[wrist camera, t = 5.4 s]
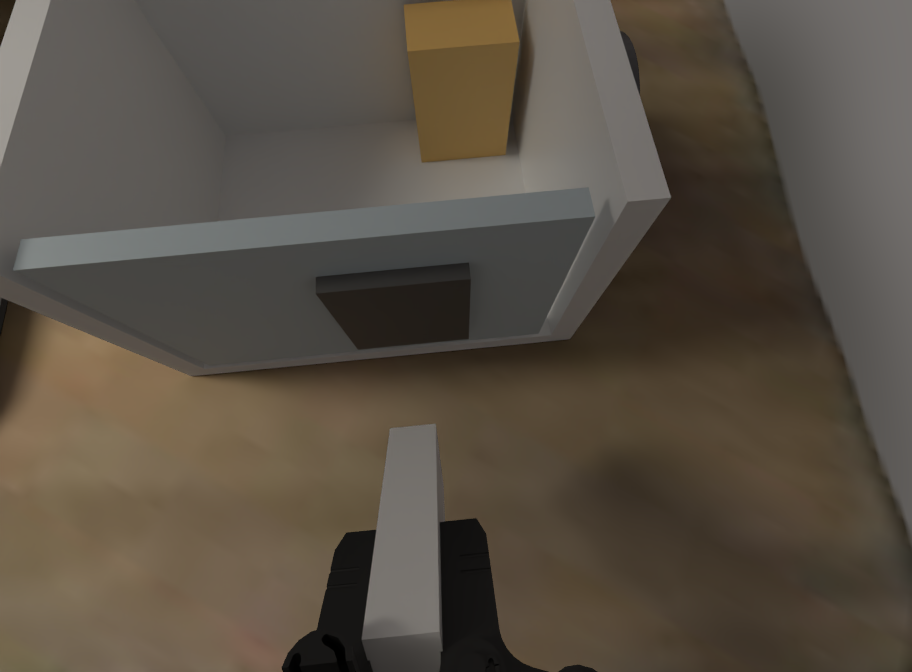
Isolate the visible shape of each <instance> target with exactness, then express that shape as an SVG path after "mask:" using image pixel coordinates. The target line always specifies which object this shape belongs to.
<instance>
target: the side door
mask: <svg viewBox="0 0 912 672" xmlns="http://www.w3.org/2000/svg"><path fill="white" fill-rule="evenodd" d="M594 218H595V212H594V208H593V204H592V199H591V195H590V191H589V187H587V188H576V189H565V190H554V191H543V192H532V193H521V194H510V195H499V196H489V197H478V198H467V199H456V200H445V201H434V202H423V203H412V204H401V205H390V206H379V207H369V208H358V209H347V210H336V211H325V212H314V213H303V214H292V215H281V216H270V217H259V218H248V219H238V220H227V221H216V222H205V223H194V224H183V225H172V226H161V227H150V228H139V229H128V230H118V231H107V232H96V233H85V234H74V235H63V236H52V237H41V238H30V239H21V241H20V245H19V249H18V252H17V256H16V260H15V264H14V268H13V271H15V272H17V273H19V274H21V275H23V276H25V277H27V278H29V279H31V280H33V281H36V282H38V283H40V284H42V285H44V286H46V287H48V288H50V289H52V290H54V291H56V292H58V293H60V294H62V295H64V296H67V297H69V298H71V299H73V300H75V301H77V302H79V303H81V304H83V305H85V306H87V307H89V308H91V309H93V310H95V311H98V312H100V313H102V314H104V315H106V316H108V317H110V318H112V319H114V320H116V321H118V322H120V323H122V324H124V325H126V326H129V327H131V328H133V329H135V330H137V331H139V332H141V333H143V334H145V335H147V336H149V337H151V338H153V339H155V340H157V341H160V342H162V343H164V344H166V345H168V346H170V347H172V348H174V349H176V350H178V351H180V352H182V353H184V354H186V355H188V356H191V357H193V358H195V359H197V360H199V361H201V362H203V363H205V364H207V365H209V366H210V365H220V364H231V363H241V362H251V361H262V360H272V359H282V358H293V357H303V356H313V355H324V354H334V353H344V352H354V351H365V350H375V349H385V348H396V347H406V346H416V345H427V344H437V343H447V342H457V341H468V340H478V339H488V338H499V337H509V336H519V335H530V334H539V332H540V330H541V328H542V326H543V324H544V322H545V319H546V317H547V315H548V313H549V311H550V309H551V307H552V305H553V303H554V301H555V299H556V297H557V295H558V293H559V291H560V289H561V286H562V284H563V282H564V280H565V278H566V276H567V274H568V272H569V270H570V268H571V266H572V264H573V262H574V260H575V258H576V256H577V254H578V251H579V249H580V247H581V245H582V243H583V241H584V239H585V237H586V235H587V233H588V231H589V229H590V227H591V225H592V223H593V221H594Z"/></svg>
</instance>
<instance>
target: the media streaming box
mask: <svg viewBox="0 0 912 672" xmlns="http://www.w3.org/2000/svg"><path fill="white" fill-rule="evenodd" d="M7 301H8V300H6V299H3V298H1V297H0V334H1V329H2V325H3V320H4V316H5V311H6V306H7Z"/></svg>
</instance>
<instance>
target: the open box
mask: <svg viewBox="0 0 912 672" xmlns="http://www.w3.org/2000/svg"><path fill="white" fill-rule="evenodd" d="M587 187H589V191H590V195H591V199H592V204H593V208H594V212H595V218H594V221H593V223H592V225H591V227H590V229H589V231H588V233H587V235H586V237H585V239H584V241H583V243H582V245H581V247H580V249H579V251H578V254H577V256H576V258H575V260H574V262H573V264H572V266H571V268H570V270H569V272H568V274H567V276H566V278H565V280H564V282H563V284H562V286H561V289H560V291H559V293H558V295H557V297H556V299H555V301H554V303H553V305H552V307H551V309H550V311H549V313H548V315H547V317H546V319H545V322H544V324H543V326H542V328H541V330H540V332H539V334H530V335H519V336H509V337H499V338H488V339H478V340H468V341H457V342H447V343H437V344H427V345H416V346H406V347H396V348H385V349H375V350H365V351H354V352H344V353H334V354H324V355H313V356H303V357H293V358H282V359H272V360H262V361H251V362H241V363H231V364H220V365H210V366H209V365H207V364H205V363H203V362H201V361H199V360H197V359H195V358H193V357H191V356H188V355H186V354H184V353H182V352H180V351H178V350H176V349H174V348H172V347H170V346H168V345H166V344H164V343H162V342H160V341H157V340H155V339H153V338H151V337H149V336H147V335H145V334H143V333H141V332H139V331H137V330H135V329H133V328H131V327H129V326H126V325H124V324H122V323H120V322H118V321H116V320H114V319H112V318H110V317H108V316H106V315H104V314H102V313H100V312H98V311H95V310H93V309H91V308H89V307H87V306H85V305H83V304H81V303H79V302H77V301H75V300H73V299H71V298H69V297H67V296H64V295H62V294H60V293H58V292H56V291H54V290H52V289H50V288H48V287H46V286H44V285H42V284H40V283H38V282H36V281H33V280H31V279H29V278H27V277H25V276H23V275H21V274H19V273H17V272H15V271H13V268H14V264H15V260H16V256H17V252H18V249H19V245H20V241H21V239H30V238H41V237H52V236H63V235H74V234H85V233H96V232H107V231H118V230H128V229H139V228H150V227H161V226H172V225H183V224H194V223H205V222H216V221H227V220H238V219H248V218H259V217H270V216H281V215H292V214H303V213H314V212H325V211H336V210H347V209H358V208H369V207H379V206H390V205H401V204H412V203H423V202H434V201H445V200H456V199H467V198H478V197H489V196H499V195H510V194H521V193H532V192H543V191H554V190H565V189H576V188H587ZM670 199H671V196H670V192H669V189H668V186H667V183H666V179H665V176H664V173H663V170H662V167H661V163H660V160H659V157H658V154H657V150H656V147H655V144H654V141H653V137H652V134H651V131H650V128H649V124H648V121H647V118H646V115H645V111H644V108H643V105H642V102H641V98H640V82H639V69H638V63H637V57H636V53H635V49H634V47H633V44H632V42H631V40H630V38H629V37H628V36H627V35H626V34H625V33H624V32H622V31H620V30H619V27H618V24H617V21H616V17H615V14H614V11H613V8H612V4H611V1H610V0H16V2H15V5H14V8H13V11H12V14H11V17H10V20H9V23H8V26H7V29H6V32H5V35H4V37H3V40H2V43H1V46H0V297H1V298H3V299H6V300H8V301H11V302H13V303H15V304H18V305H20V306H23V307H25V308H28V309H30V310H32V311H35V312H37V313H40V314H42V315H44V316H47V317H49V318H52V319H54V320H57V321H59V322H61V323H64V324H66V325H69V326H71V327H74V328H76V329H78V330H81V331H83V332H86V333H88V334H90V335H93V336H95V337H98V338H100V339H103V340H105V341H107V342H110V343H112V344H115V345H117V346H120V347H122V348H124V349H127V350H129V351H132V352H134V353H136V354H139V355H141V356H144V357H146V358H149V359H151V360H153V361H156V362H158V363H161V364H163V365H166V366H168V367H170V368H173V369H175V370H178V371H180V372H182V373H185V374H187V375H190V376H198V375H209V374H219V373H229V372H239V371H250V370H260V369H270V368H280V367H291V366H301V365H311V364H322V363H332V362H342V361H352V360H363V359H373V358H383V357H393V356H404V355H414V354H424V353H435V352H445V351H455V350H465V349H476V348H486V347H496V346H506V345H517V344H527V343H537V342H547V341H558V340H568V339H571V337H572V336H573V334H574V333H575V332H576V330H577V329H578V327H579V326H580V325H581V323H582V322H583V320H584V319H585V318H586V316H587V315H588V313H589V312H590V311H591V309H592V308H593V306H594V305H595V304H596V302H597V301H598V299H599V298H600V297H601V295H602V294H603V292H604V291H605V290H606V288H607V287H608V285H609V284H610V283H611V281H612V280H613V278H614V277H615V276H616V274H617V273H618V271H619V270H620V269H621V267H622V266H623V264H624V263H625V262H626V260H627V259H628V257H629V256H630V255H631V253H632V252H633V250H634V249H635V248H636V246H637V245H638V243H639V242H640V241H641V239H642V238H643V236H644V235H645V234H646V232H647V231H648V229H649V228H650V227H651V225H652V224H653V222H654V221H655V220H656V218H657V217H658V215H659V214H660V213H661V211H662V210H663V208H664V207H665V206H666V204H667V203H668V201H669V200H670Z"/></svg>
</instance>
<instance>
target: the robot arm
mask: <svg viewBox="0 0 912 672" xmlns="http://www.w3.org/2000/svg"><path fill="white" fill-rule="evenodd" d="M282 670H283V672H547V671H544V670H540V669H537V668H533V667H530V666H528V665H526V664H523V663H522V662H520V661H519V660H518V659H516V658H515V657H514V656H513V655H512V654H511V653H510V652H509V651H508V649H507V648H506V646H505V644H504V642H503V640H502V638H501V634H500V630H499V624H498V617H497V610H496V602H495V595H494V588H493V581H492V573H491V566H490V559H489V552H488V544H487V537H486V533H485V531H484V530H483V528H482V527H481V525H480V524H479V522H478V520H477V519H476V518H475V519H466V520H456V521H446V522H445V511H444V486H443V478H442V470H441V462H440V454H439V446H438V438H437V430H436V424H429V425H419V426H409V427H398V428H390V433H389V440H388V448H387V455H386V462H385V470H384V477H383V485H382V492H381V499H380V507H379V514H378V522H377V529H376V530H369V531H359V532H349V533H346V534H345V536H344V537H343V539H342V540H341V542H340V543H339V545H338V546H337V548H336V549H335V552H334V557H333V561H332V565H331V573H330V574H329V579H328V583H327V590H326V592H325V596H324V601H323V605H322V609H321V614H320V618H319V623H318V627H317V630H316V631H312V632H310V633H309V634H307V635H306V636H304V637H303V638H302V639H300V640H299V641H298V642H297V643H296V644H295V645H294V647H293V648H292V649H291V650H290V651H289V653H288V655H287V657H286V659H285V661H284V664H283V666H282ZM559 672H597V671H595V670H594V669H593V668H589V667H585V666H582V665H573V666H567V667H564V668H563V669H562V670H560V671H559Z"/></svg>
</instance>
